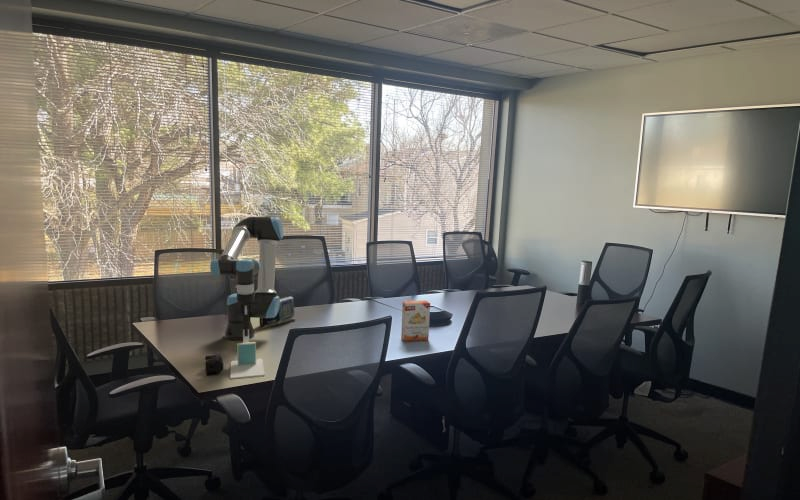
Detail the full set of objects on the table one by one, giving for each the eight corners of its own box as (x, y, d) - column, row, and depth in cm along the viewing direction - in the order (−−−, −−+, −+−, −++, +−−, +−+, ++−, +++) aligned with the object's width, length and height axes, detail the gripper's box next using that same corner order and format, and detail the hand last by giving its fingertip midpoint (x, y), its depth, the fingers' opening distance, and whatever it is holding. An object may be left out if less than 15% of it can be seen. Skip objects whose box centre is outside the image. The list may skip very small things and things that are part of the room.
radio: (260, 328, 284) (260, 303, 282) (253, 325, 290) (253, 299, 288) (297, 321, 299) (297, 297, 297) (290, 318, 306) (289, 294, 303)
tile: (237, 364, 229) (237, 343, 228) (256, 362, 232) (255, 341, 230) (237, 366, 227) (237, 344, 226) (256, 364, 230) (255, 343, 228)
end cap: (223, 374, 219) (223, 359, 218) (206, 376, 216) (205, 361, 215) (222, 366, 228) (221, 352, 227) (205, 368, 225) (205, 354, 224)
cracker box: (404, 342, 267) (405, 303, 264) (400, 338, 273) (402, 300, 270) (429, 340, 271) (430, 302, 268) (425, 337, 277) (426, 299, 274)
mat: (230, 362, 233) (230, 360, 233) (262, 359, 237) (262, 358, 237) (230, 379, 214) (230, 377, 214) (264, 375, 219) (264, 374, 219)
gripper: (236, 289, 236) (237, 338, 240) (236, 296, 224) (237, 347, 228) (253, 289, 239) (254, 337, 242) (254, 295, 226) (255, 346, 230)
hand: (246, 342), depth 235 cm, fingers closed
